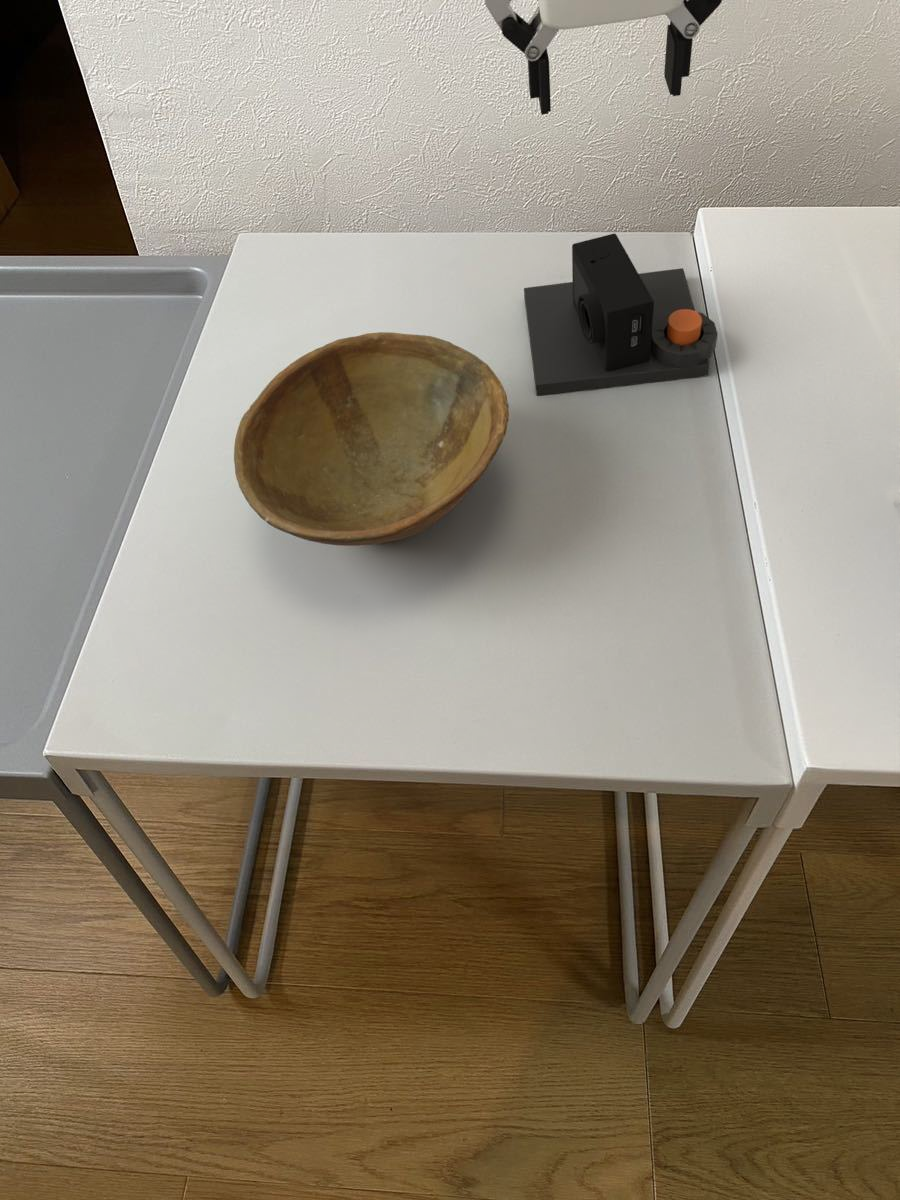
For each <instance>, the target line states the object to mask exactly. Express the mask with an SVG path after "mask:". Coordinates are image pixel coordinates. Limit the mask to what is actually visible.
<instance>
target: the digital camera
mask: <svg viewBox="0 0 900 1200" xmlns="http://www.w3.org/2000/svg"><path fill="white" fill-rule="evenodd" d="M571 263H572V265H571V266H572V267H571V268H572V270H571V271H572V282H573V305H574V307H575V309H576V311H577V313H578V315H579V320H580V325H581V329H582V332H583V335H584V337H585V339H586V341H587V343H588V344H593V347H594V349H595V351H596V353H597V355H598V357H599V359H600V361H601V363H602V365H603V367H604V369H605V371H611V370H615V369H619V368H623V367H627V366H631V365H635V364H638V363H642V362H647V361H649V360H650V348H651V335H652V323H653V310H654V301H653V299H652V297H651V296H650V294H649V292H648V290H647V288H646V286H645V285H644V283H643V281H642V279H641V278H640V276H639V274H640V273H639V272H638V270H637V269H636V267H635V265H634V263H633V262H632V260H631V258H630V256H629V255H628V253H627V251H626V249H625V247H624V246H623V244H622V242H621V241H620V239H619V237H618V235H617V234H616V233H610V234H607V235H603V236H599V237H594V238H590V239H586V240H583V241H578V242H575V243H573V244H572V245H571Z"/></svg>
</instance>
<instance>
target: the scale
mask: <svg viewBox="0 0 900 1200" xmlns="http://www.w3.org/2000/svg"><path fill="white" fill-rule="evenodd" d="M638 274H639V276H640V278H641V279H642V281H643V283H644V285H645V286H646V288H647V290H648V292H649V294H650V296H651V297H652V299H653V301H654V310H653V323H652V335H651V348H650V360H649V361H647V362H642V363H638V364H635V365H631V366H627V367H623V368H619V369H615V370H611V371H605V369H604V367H603V365H602V363H601V361H600V359H599V357H598V355H597V353H596V351H595V349H594V347H593V344H588V343H587V341H586V339H585V337H584V335H583V332H582V329H581V325H580V320H579V315H578V313H577V311H576V309H575V307H574V305H573V281H569V282H563V283H562V282H561V283H553V284H545V285H537V286H528V287H524V288H523V297H524V305H525V313H526V314H525V315H526V322H527V331H528V338H529V347H530V353H531V355H530V356H531V363H532V371H533V380H534V387H535V395H536V396H544V395H553V394H562V393H570V392H579V391H580V392H581V391H589V390H598V389H605V388H613V387H615V388H616V387H623V386H632V385H639V384H641V385H642V384H647V383H648V384H650V383H657V382H665V381H674V380H683V379H691V378H700V377H709V373H710V366H711V364H710V361H709V359H710V358H711V357H712V355H713V353H714V351H715V349H716V347H717V341H718V336H719V334H718V329H717V327H716V323H715V322H714V320H713V319H711V318H710V317H708V316H707V315H705V313H702V312H699V311H696V310H695V306H694V303H693V299H692V296H691V291H690V288H689V284H688V280H687V277H686V273H685V270H684V268H683V267H681V268H680V267H679V268H674V269H673V268H672V269H666V270H665V269H664V270H657V271H650V272H640V273H638ZM681 309H689V310H693V311H695V312H697V313H698V314H699V315H700V316H701V318H702V325H701V333H700V338H699V339H698V340H697V341H696V342H695V343H693V344H691V345H683V346H682V345H678V344H673V343H672V342H671V341H669V339H668V337H667V328H668V319H669V316H670V315H671V314H672V313H673V312H675V311H677V310H681Z"/></svg>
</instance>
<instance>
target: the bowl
mask: <svg viewBox="0 0 900 1200" xmlns="http://www.w3.org/2000/svg"><path fill="white" fill-rule="evenodd" d="M509 407H510V406H509V403H508V395H507V392H506V390H505V387H504V386H503V383H502V382H501V380H500V379H499V377H498V376H497V375H496V374H495V372H494V370H493V369H492V368H491V367H490V366H489V364H488V363H486V362H485V361H484V360H482V359H481V358H480V357H479V356H477V355H476V354H474V353H472V352H470V351H468V350H466V349H464V348H463V347H460V346H458V345H456V344H454V343H452V342H450V341H448V340H445V339H442V338H439V337H436V336H431V335H425V334H424V335H423V334H410V333H399V332H390V331H389V332H386V331H381V332H379V331H378V332H369V333H368V332H367V333H364V334H361V335H357V336H349V337H345V338H344V337H343V338H339V339H336V340H334V341H331V342H329V343H326V344H324V345H323V346H321V347H318V348H315V349H314V350H312V351H310V352H307V353H305V354H304V355H302V356H300V357H299V358H297V359H296V360H294V361H293V362H291V363H290V364H289V365H287V366H286V367H285V368H284V369H282V370H281V371H279V372H277V374H276V375H275V376H274V377H273V378H272V379H271V380H270V381H269V382H268V384H266V386H265V388H263V389H262V391H261V392H260V393H259V395H258V397H257V398H256V399H255V400H254V401H253V402H252V404H251V405H250V406H249V409H247V410H246V411H245V413H244V414H243V416H242V417H241V419H240V422H239V423H238V424H239V425H238V427H237V431H236V434H235V438H234V446H233V447H234V448H233V449H234V450H233V451H234V452H233V462H234V463H233V464H234V475H235V479H236V482H237V484H238V487H239V489H240V492H241V493H242V495H243V497H244V499H245V501H246V502H247V503H248V505H249V506H250V508H252V510H253V511H254V512H255V513H256V514H257V515H258V516H259V518H260V519H262V520H263V521H264V522H266V523H267V524H268V525H270V526H271V527H273V528H275V529H276V530H278V531H281V532H283V533H285V534H286V533H287V534H289V535H291V536H294V537H295V538H299V539H302V540H306V541H309V542H314V543H319V544H324V545H332V546H347V547H348V546H349V547H350V546H352V547H353V546H354V547H355V546H357V547H358V546H359V547H360V546H369V545H377V544H384V543H389V542H395V541H399V540H403V539H407V538H409V537H412V536H415V535H416V534H419V533H421V532H423V531H424V530H427V528H429V527H431V526H432V525H433V524H435V523H436V522H437V521H438V520H439V519H441V518H442V517H443V516H445V515H446V514H448V512H450V511H451V510H453V509H454V507H456V506H457V505H458V504H459V502H461V501H462V500H463V498H464V497H465V496H466V495H467V494H469V492H470V491H471V489H472V487H473V486H474V485H475V484H476V483H477V482H478V480H480V478H481V477H482V475H483V474H484V473H485V471H486V470H487V468H488V466H489V465H490V463H491V462H492V460H493V459H494V457H496V455H497V453H498V451H499V449H500V447H501V445H502V444H503V439H504V438H505V436H506V434H507V428H508V422H509V417H510V411H509Z"/></svg>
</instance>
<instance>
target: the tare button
mask: <svg viewBox="0 0 900 1200" xmlns="http://www.w3.org/2000/svg"><path fill="white" fill-rule="evenodd" d="M697 312H698V311H696V310H695V311H693V310H689V309H681V310H677V311H675V312H673V313H672V314H671V315H670V316H669V319H668V328H667V337H668V339H669V341H671V342H672V343H673V344H678V345H682V346H683V345H691V344H693V343H695V342H696V341H697V340H698V339H699V338H700V333H701V325H702V318H701V316H700V315H699V314H698V313H697Z"/></svg>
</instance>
